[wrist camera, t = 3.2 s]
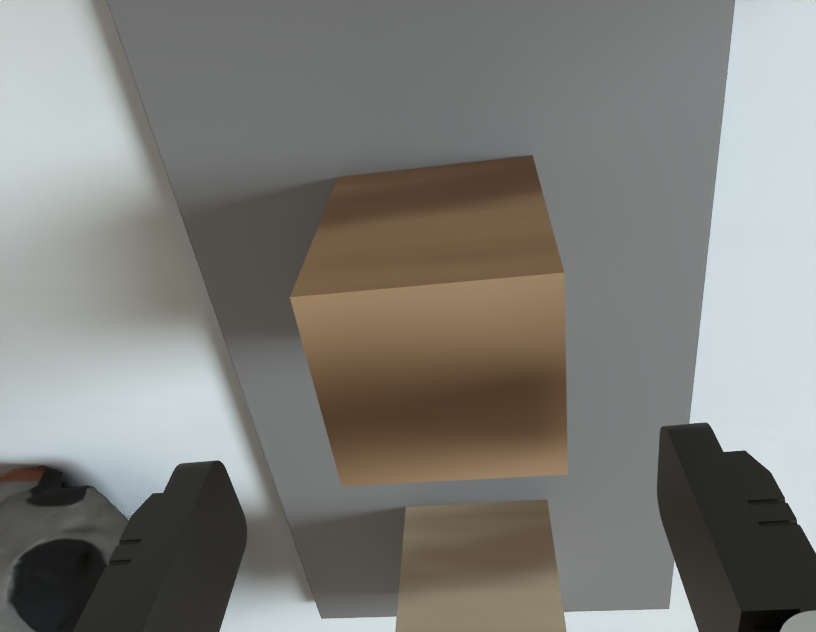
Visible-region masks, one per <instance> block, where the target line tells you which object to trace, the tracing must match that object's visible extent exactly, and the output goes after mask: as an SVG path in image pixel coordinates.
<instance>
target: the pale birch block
mask: <svg viewBox="0 0 816 632" xmlns="http://www.w3.org/2000/svg"><path fill="white" fill-rule="evenodd" d="M396 632H566V625H565V618H564V611H563V604H562V597H561V591H560V584H559V577H558V570H557V563H556V556H555V549H554V542H553V535H552V528H551V521H550V514H549V507H548V500H532V501H511V502H491V503H470V504H450V505H429V506H409V507H406V511H405V523H404V535H403V547H402V559H401V571H400V583H399V595H398V608H397V620H396Z"/></svg>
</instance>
